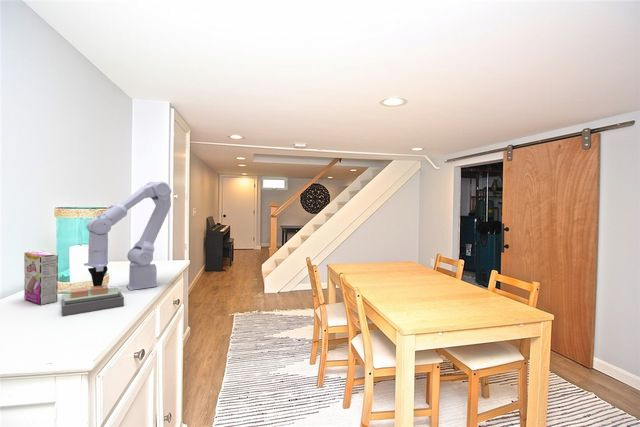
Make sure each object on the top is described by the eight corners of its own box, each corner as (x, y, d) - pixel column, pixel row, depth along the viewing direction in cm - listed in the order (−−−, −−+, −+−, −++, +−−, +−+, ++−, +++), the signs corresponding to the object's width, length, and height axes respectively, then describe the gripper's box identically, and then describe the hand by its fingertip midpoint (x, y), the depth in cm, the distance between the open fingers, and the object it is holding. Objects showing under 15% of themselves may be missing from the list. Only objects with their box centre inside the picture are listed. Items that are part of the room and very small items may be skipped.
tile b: (87, 292, 104) (87, 287, 104) (88, 296, 101) (88, 290, 101) (70, 295, 101) (70, 289, 101) (70, 298, 98) (70, 292, 98)
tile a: (106, 290, 108) (106, 284, 108) (107, 293, 104) (107, 287, 104) (90, 292, 105) (90, 286, 105) (91, 295, 101) (91, 289, 101)
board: (117, 292, 112) (117, 287, 111) (121, 298, 105) (121, 293, 105) (61, 300, 101) (61, 294, 101) (61, 307, 95) (61, 301, 94)
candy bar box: (22, 300, 100) (23, 252, 100) (41, 296, 104) (42, 250, 104) (39, 306, 95) (40, 255, 95) (58, 301, 100) (59, 253, 99)
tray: (119, 299, 104) (119, 290, 104) (123, 306, 98) (123, 297, 98) (61, 308, 94) (61, 298, 94) (62, 316, 88) (62, 306, 88)
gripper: (83, 248, 111) (82, 284, 112) (85, 254, 100) (84, 293, 101) (106, 247, 116) (105, 281, 116) (110, 252, 105) (110, 290, 105)
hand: (97, 287), depth 109 cm, fingers closed
